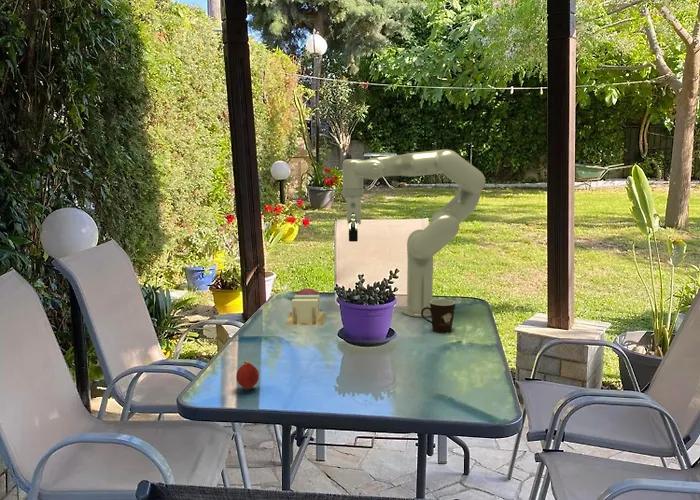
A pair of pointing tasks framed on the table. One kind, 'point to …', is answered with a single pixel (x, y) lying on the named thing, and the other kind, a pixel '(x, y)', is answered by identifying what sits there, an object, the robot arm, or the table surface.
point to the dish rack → (320, 322)
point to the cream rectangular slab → (305, 309)
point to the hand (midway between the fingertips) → (353, 239)
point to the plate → (309, 298)
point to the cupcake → (306, 290)
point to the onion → (247, 375)
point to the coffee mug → (441, 315)
